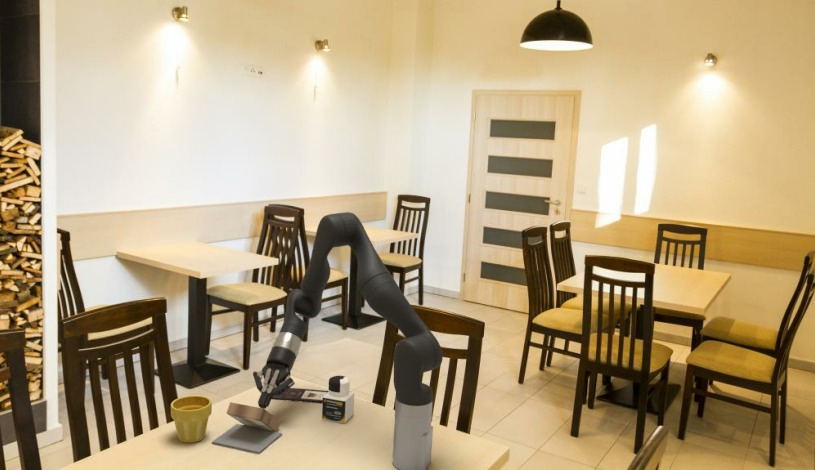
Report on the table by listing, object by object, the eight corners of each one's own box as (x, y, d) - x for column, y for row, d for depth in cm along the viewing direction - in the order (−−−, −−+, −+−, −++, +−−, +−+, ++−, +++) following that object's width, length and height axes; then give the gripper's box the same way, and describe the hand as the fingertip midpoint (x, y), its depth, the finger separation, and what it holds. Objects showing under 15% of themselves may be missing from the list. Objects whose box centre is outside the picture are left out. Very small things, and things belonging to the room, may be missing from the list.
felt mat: (282, 435, 183) (282, 432, 183) (259, 454, 172) (259, 451, 171) (236, 425, 187) (236, 423, 187) (211, 443, 176) (211, 441, 176)
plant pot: (162, 437, 178) (162, 401, 177) (197, 425, 186) (197, 391, 185) (184, 450, 172) (184, 413, 170) (219, 437, 179) (219, 402, 178)
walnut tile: (280, 421, 186) (263, 408, 176) (277, 432, 184) (259, 420, 174) (248, 414, 189) (230, 402, 179) (244, 426, 187) (226, 413, 177)
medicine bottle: (321, 419, 194) (323, 380, 192) (331, 410, 201) (332, 372, 199) (344, 424, 192) (346, 384, 190) (353, 414, 199) (355, 375, 197)
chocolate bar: (279, 386, 215) (334, 391, 214) (279, 389, 216) (334, 394, 214) (271, 397, 207) (329, 402, 205) (271, 400, 207) (329, 405, 205)
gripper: (259, 342, 194) (235, 397, 184) (301, 348, 190) (278, 405, 180) (268, 354, 200) (245, 408, 190) (309, 361, 196) (287, 417, 186)
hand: (262, 407), depth 185 cm, fingers closed
